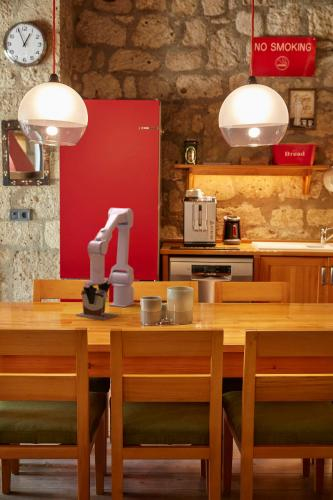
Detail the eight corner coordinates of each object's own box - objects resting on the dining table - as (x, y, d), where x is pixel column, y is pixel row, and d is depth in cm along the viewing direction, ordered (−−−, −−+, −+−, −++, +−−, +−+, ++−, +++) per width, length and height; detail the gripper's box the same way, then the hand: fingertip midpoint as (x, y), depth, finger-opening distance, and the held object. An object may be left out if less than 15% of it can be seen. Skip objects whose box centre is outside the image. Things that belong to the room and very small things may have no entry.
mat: (91, 311, 237) (91, 310, 236) (117, 315, 230) (117, 314, 230) (76, 315, 228) (76, 314, 228) (103, 320, 221) (103, 319, 221)
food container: (113, 315, 229) (113, 291, 228) (104, 317, 223) (104, 293, 222) (89, 311, 235) (90, 288, 234) (80, 313, 229) (80, 290, 228)
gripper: (94, 272, 218) (94, 306, 220) (115, 268, 231) (115, 300, 232) (80, 271, 222) (80, 304, 223) (101, 267, 234) (101, 298, 236)
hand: (97, 302), depth 228 cm, fingers open, 7 cm apart
